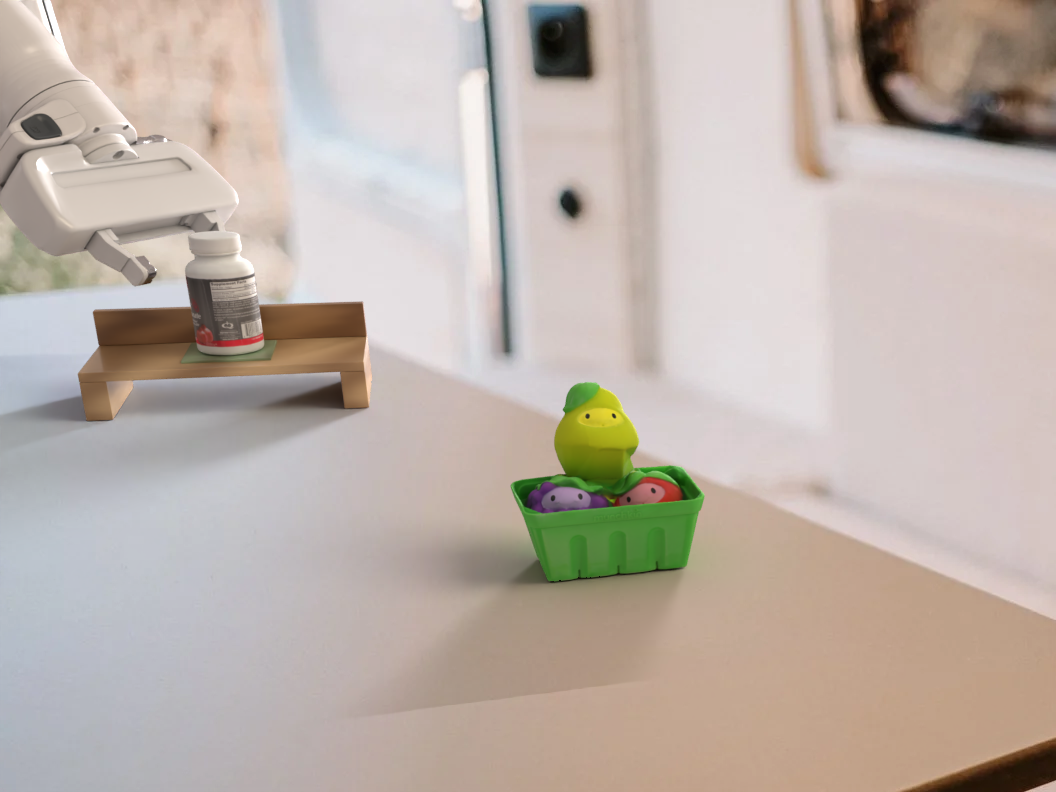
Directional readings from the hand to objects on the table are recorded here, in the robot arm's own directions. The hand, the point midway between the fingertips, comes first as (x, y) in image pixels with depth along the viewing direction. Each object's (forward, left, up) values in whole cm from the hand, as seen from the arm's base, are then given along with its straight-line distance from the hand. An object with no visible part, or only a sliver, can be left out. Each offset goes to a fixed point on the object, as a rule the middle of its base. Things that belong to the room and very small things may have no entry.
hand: (189, 271), depth 137 cm
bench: (+2, -1, -11) cm, 11 cm away
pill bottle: (+2, -1, -7) cm, 7 cm away
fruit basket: (+29, -49, -11) cm, 59 cm away
